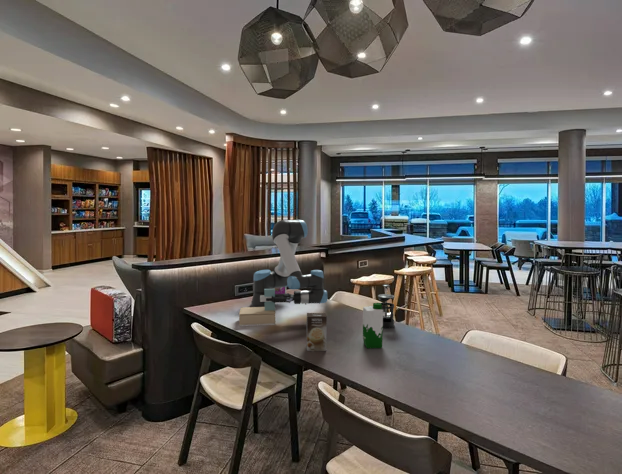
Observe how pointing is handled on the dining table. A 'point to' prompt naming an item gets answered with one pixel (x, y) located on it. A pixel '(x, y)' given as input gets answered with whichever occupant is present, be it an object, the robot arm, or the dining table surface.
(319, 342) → the coffee box
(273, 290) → the carton lid
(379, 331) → the milk carton
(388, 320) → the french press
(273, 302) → the robot arm
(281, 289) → the candy bar box
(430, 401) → the dining table surface
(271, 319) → the carton
